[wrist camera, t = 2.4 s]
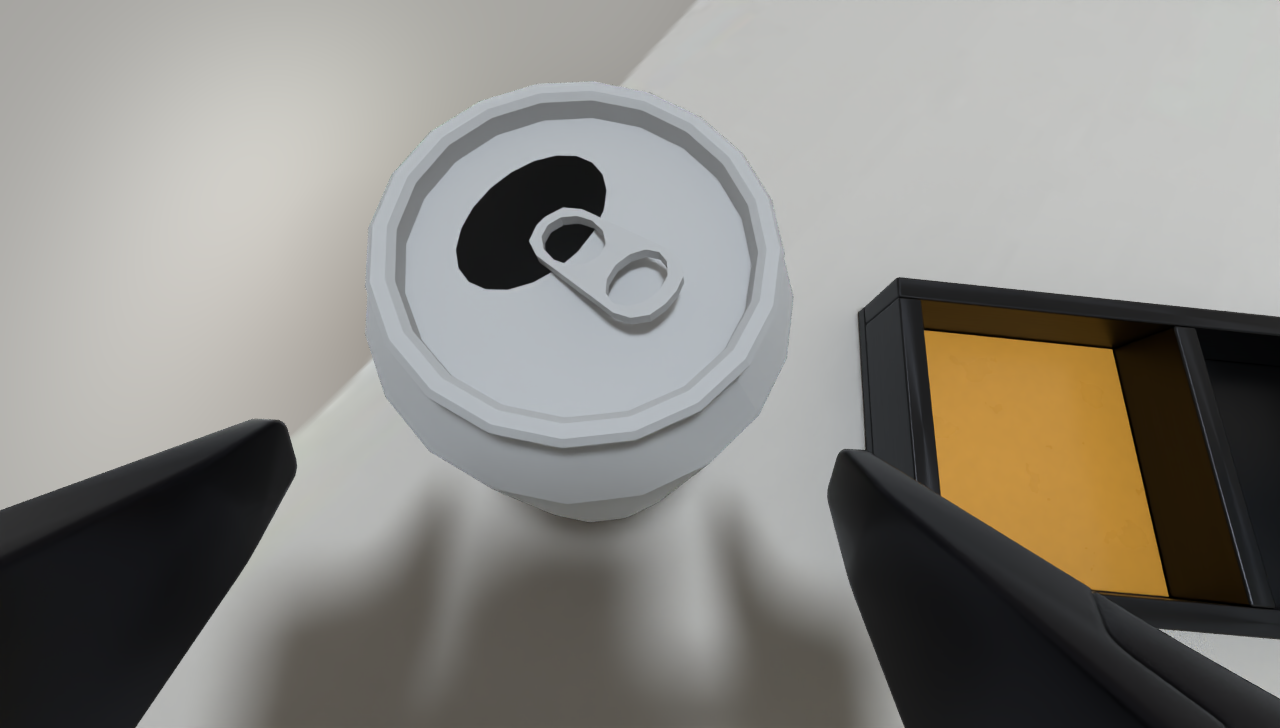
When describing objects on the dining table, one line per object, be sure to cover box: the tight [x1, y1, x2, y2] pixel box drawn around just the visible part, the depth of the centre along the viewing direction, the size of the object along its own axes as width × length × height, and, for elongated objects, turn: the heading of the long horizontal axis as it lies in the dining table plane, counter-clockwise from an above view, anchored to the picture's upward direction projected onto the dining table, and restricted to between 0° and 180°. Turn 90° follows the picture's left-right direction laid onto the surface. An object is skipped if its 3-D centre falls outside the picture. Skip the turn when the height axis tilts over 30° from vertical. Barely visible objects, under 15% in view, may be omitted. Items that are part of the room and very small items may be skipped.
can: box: [365, 81, 793, 522], centre depth 13 cm, size 8×8×12 cm
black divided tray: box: [859, 277, 1280, 639], centre depth 18 cm, size 11×20×3 cm, turn 85°
